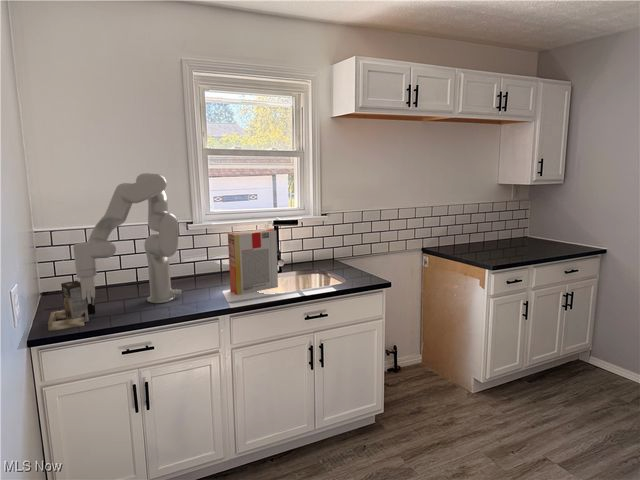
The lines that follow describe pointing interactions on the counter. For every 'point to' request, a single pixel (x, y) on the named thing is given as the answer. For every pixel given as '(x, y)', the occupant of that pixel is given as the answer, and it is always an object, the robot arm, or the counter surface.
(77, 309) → the coffee box
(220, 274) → the counter surface
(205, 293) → the counter surface
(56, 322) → the dock
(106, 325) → the counter surface
